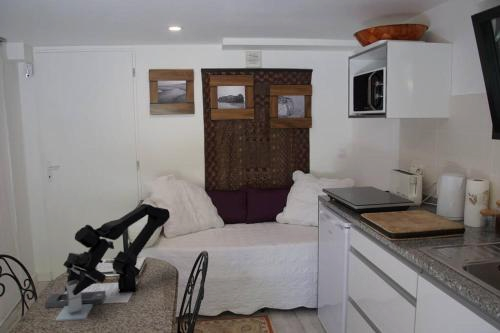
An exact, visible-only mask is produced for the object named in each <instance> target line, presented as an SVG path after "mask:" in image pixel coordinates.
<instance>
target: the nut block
mask: <svg viewBox="0 0 500 333" xmlns="http://www.w3.org/2000/svg"><path fill="white" fill-rule="evenodd" d="M78 284H79V281H78V279H77V280H72V281H68V282H67V281H65V287H66V291H65V292H66V294H67V299H66V301H67V304H68V310H69V312H70V313H72V312H75V311H79V310H82V301H81V292H82V291H81V292H80V293H78V294H77V295H73V293H74V291H75V289H76V287H77V285H78Z"/></svg>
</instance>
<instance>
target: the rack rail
mask: <svg viewBox="0 0 500 333" xmlns="http://www.w3.org/2000/svg"><path fill="white" fill-rule="evenodd" d="M106 292H107V291H106V290H101V291H99V290H97V291H81V301H82V305H84V304H93V306H94V305H95V306H96V305H103V303H104V300H105V298H106V296H107V295H106ZM64 306H68V304H67V293H55V294H51V295H50V296H49V297H48V299H46V301H45V302H44V308H45V309H52V308H64Z"/></svg>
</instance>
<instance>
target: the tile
mask: <svg viewBox="0 0 500 333" xmlns="http://www.w3.org/2000/svg"><path fill="white" fill-rule="evenodd" d="M93 307H94V305H93V304H84V305H82V310H79V311H75V312H72V313H70V312H69V310H68V306H64V307H62V309H61V310H60V313H59V314H58V315H57V317H56V318H55V323H56V322H64V321H79V320H80V321H81V320H87V318H88V316H89V314H90V312H91V309H92V308H93Z"/></svg>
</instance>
